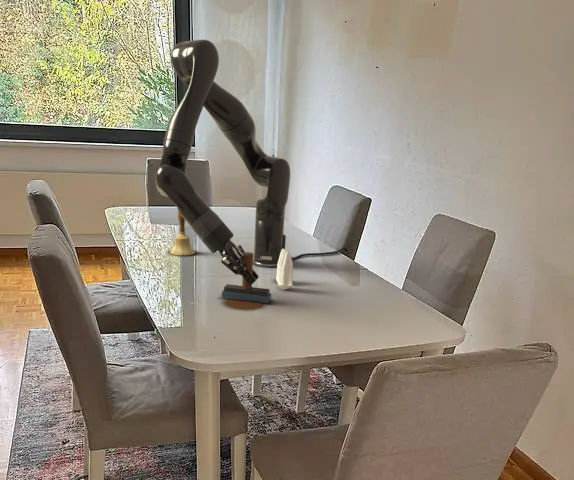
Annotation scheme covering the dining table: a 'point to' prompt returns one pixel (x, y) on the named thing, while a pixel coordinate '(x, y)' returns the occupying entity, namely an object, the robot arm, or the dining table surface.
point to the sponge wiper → (247, 287)
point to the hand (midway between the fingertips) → (254, 280)
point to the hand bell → (182, 241)
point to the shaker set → (285, 270)
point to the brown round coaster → (243, 304)
